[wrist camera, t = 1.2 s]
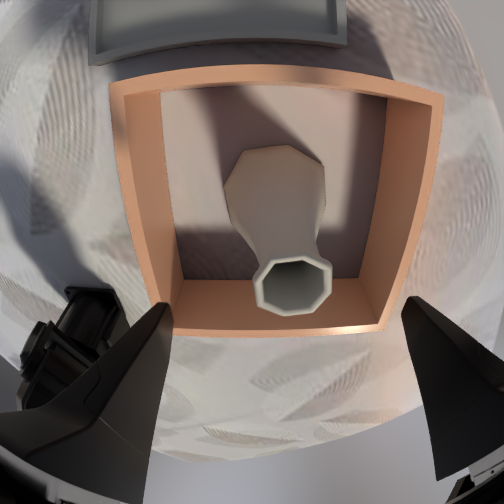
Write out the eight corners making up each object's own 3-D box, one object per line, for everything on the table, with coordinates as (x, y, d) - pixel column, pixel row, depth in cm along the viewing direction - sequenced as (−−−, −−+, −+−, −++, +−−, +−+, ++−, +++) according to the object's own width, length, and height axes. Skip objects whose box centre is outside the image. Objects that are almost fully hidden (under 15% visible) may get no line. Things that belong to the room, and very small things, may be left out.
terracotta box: (176, 286, 23) (161, 334, 19) (148, 83, 14) (108, 83, 10) (364, 284, 23) (384, 330, 19) (397, 89, 14) (444, 95, 10)
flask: (232, 134, 17) (208, 182, 8) (338, 156, 17) (410, 223, 9) (217, 230, 20) (194, 335, 12) (311, 245, 21) (342, 350, 13)
